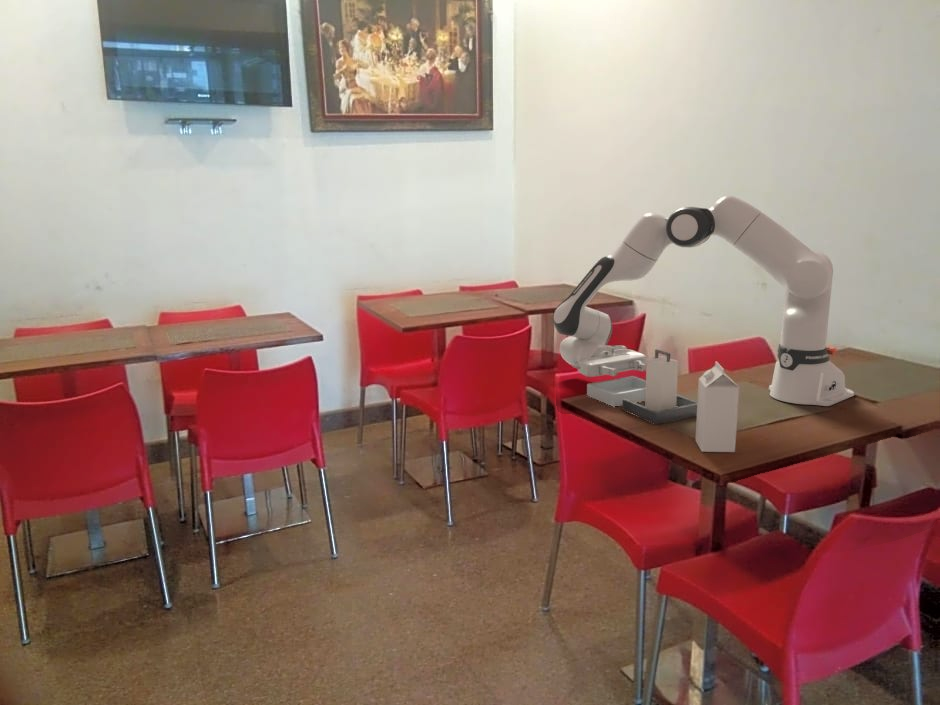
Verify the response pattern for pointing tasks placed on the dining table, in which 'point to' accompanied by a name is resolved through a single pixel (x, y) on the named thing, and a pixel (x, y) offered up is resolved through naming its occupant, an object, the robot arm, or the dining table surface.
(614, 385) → the tray
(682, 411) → the tray
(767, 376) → the dining table surface
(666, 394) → the white block with handle
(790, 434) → the dining table surface
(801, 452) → the dining table surface
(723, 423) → the milk carton
